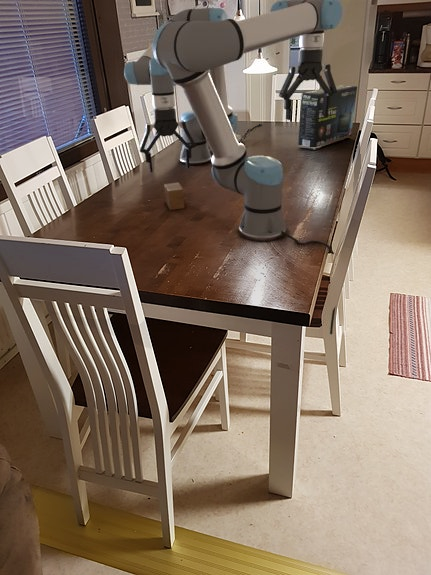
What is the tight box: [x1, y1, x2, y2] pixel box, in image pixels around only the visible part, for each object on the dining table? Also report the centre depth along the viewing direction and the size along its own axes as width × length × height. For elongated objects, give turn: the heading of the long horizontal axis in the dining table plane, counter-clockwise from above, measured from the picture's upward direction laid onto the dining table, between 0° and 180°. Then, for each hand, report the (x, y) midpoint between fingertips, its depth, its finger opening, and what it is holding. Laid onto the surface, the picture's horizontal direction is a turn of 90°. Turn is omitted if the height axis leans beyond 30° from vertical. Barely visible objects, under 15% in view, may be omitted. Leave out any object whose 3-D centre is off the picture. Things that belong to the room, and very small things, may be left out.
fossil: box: [235, 131, 246, 143], centre depth 251 cm, size 18×11×15 cm
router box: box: [297, 84, 358, 151], centre depth 238 cm, size 36×11×27 cm, turn 134°
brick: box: [163, 182, 185, 211], centre depth 172 cm, size 8×6×7 cm, turn 15°
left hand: (169, 169), depth 168 cm, fingers open, 13 cm apart
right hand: (306, 117), depth 159 cm, fingers open, 13 cm apart
